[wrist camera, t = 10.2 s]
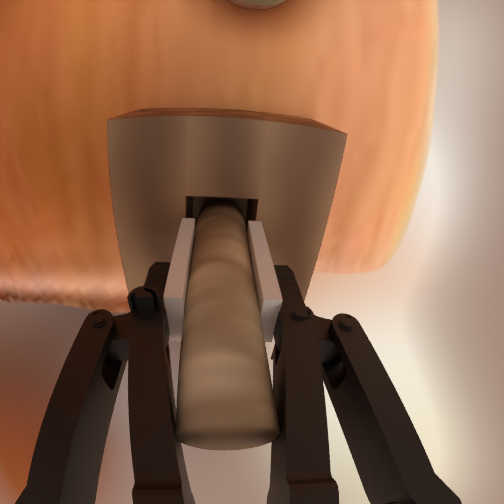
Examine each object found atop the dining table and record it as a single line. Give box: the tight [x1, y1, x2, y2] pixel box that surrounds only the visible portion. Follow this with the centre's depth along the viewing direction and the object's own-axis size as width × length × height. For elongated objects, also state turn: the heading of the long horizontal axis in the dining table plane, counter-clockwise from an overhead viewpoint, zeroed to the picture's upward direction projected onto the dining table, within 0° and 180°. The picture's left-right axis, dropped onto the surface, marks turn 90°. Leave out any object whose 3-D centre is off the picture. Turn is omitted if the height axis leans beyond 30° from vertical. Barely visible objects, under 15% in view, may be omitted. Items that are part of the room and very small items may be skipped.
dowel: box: [176, 199, 280, 450], centre depth 13 cm, size 3×3×14 cm
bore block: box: [107, 108, 347, 301], centre depth 20 cm, size 14×14×7 cm
